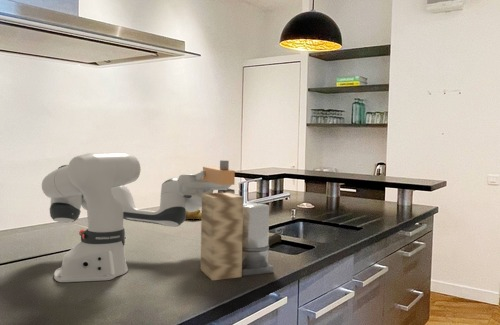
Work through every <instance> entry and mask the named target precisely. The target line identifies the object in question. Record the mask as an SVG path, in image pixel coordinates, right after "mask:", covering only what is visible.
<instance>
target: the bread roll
mask: <svg viewBox="0 0 500 325" xmlns="http://www.w3.org/2000/svg"><path fill="white" fill-rule="evenodd" d="M188 219H193V220H194V219H199V220H201V219H202V212H201V209H199V210H197V211H194V212H188V211H186V219H185V220H188Z"/></svg>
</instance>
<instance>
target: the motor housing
mask: <svg viewBox="0 0 500 325" xmlns="http://www.w3.org/2000/svg"><path fill="white" fill-rule="evenodd" d="M269 228H270V205H268V204H265V203H255V202H253V203H252V202H251V203H249V202H246V203H245V202H243V231H242V276H253V275H262V274H271V273H274V265H272V264H270V263H269V249H270V246H269V244H268V238H269V236H270V235H269V234H270V233H269V232H270V230H269Z"/></svg>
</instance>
